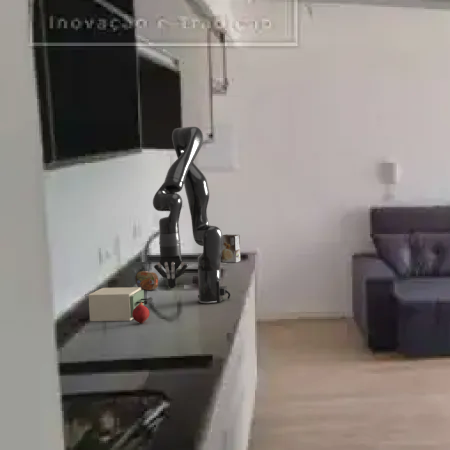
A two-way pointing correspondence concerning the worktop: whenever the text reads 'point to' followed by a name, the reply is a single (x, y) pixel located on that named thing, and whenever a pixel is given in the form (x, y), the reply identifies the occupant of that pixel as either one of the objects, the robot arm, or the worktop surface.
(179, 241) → the robot arm
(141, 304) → the onion
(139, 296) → the green drawer
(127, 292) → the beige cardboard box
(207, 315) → the worktop surface
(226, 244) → the coffee box
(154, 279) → the tin
